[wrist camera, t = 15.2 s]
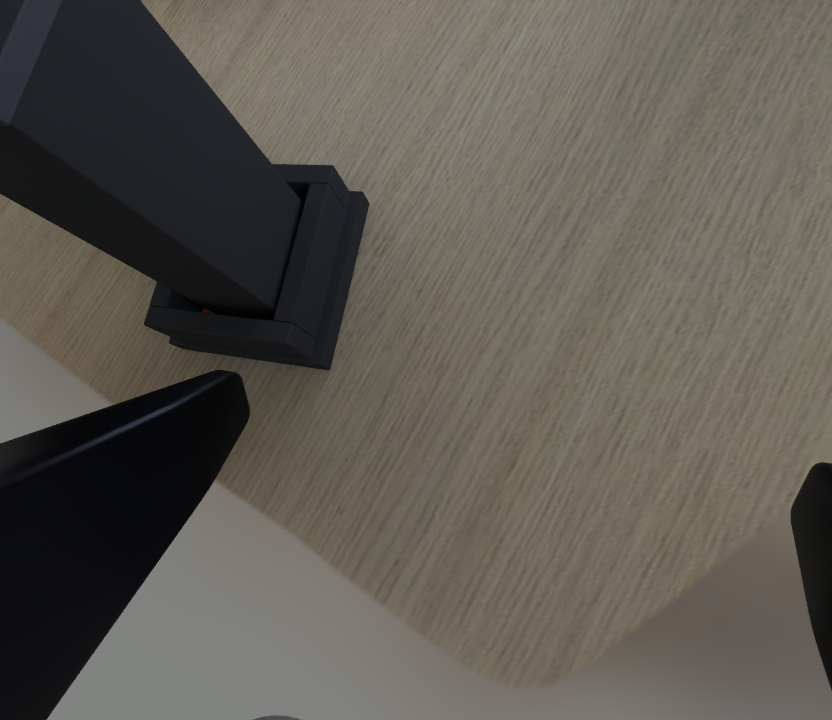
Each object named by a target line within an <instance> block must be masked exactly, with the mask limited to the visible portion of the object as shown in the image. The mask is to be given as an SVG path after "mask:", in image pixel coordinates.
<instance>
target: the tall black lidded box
mask: <svg viewBox="0 0 832 720" xmlns="http://www.w3.org/2000/svg"><path fill="white" fill-rule="evenodd" d="M0 194H2V195H4V196H5V197H7V198H9V199H11V200H13V201H14V202H16V203H18V204H20V205H22V206H23V207H25V208H27V209H29V210H30V211H32V212H34V213H36V214H38V215H39V216H41V217H43V218H45V219H47V220H48V221H50V222H52V223H54V224H56V225H57V226H59V227H61V228H63V229H64V230H66V231H68V232H70V233H72V234H73V235H75V236H77V237H79V238H81V239H82V240H84V241H86V242H88V243H90V244H91V245H93V246H95V247H97V248H98V249H100V250H102V251H104V252H106V253H107V254H109V255H111V256H113V257H115V258H116V259H118V260H120V261H122V262H124V263H125V264H127V265H129V266H131V267H132V268H134V269H136V270H138V271H140V272H141V273H143V274H145V275H147V276H149V277H150V278H152V279H154V280H156V281H158V282H159V283H161V284H163V285H165V286H166V287H168V288H170V289H172V290H174V291H175V292H177V293H179V294H181V295H183V296H184V297H186V298H188V299H190V300H192V301H193V302H195V303H197V304H199V305H200V306H202V307H204V308H206V309H208V310H209V311H211V312H213V313H215V314H220V315H229V316H237V317H245V318H254V319H263V320H272V321H274V315H275V312H276V308H277V304H278V301H279V297H280V293H281V289H282V286H283V282H284V278H285V274H286V271H287V267H288V263H289V260H290V256H291V252H292V248H293V245H294V241H295V237H296V233H297V230H298V226H299V222H300V219H301V215H302V211H303V207H304V204H303V202H302V201H301V200H300V199H299V197H298V196H297V195H296V194H295V192H294V191H293V190H292V189H291V187H290V186H289V185H288V184H287V182H286V181H285V180H284V179H283V177H282V176H281V175H280V174H279V172H278V171H277V170H276V169H275V167H274V166H273V165H272V164H271V162H270V161H269V160H268V159H267V157H266V156H265V155H264V154H263V152H262V151H261V150H260V149H259V148H258V146H257V145H256V144H255V143H254V141H253V140H252V139H251V138H250V136H249V135H248V134H247V133H246V131H245V130H244V129H243V128H242V126H241V125H240V124H239V123H238V121H237V120H236V119H235V118H234V116H233V115H232V114H231V113H230V111H229V110H228V109H227V108H226V106H225V105H224V104H223V103H222V101H221V100H220V99H219V98H218V96H217V95H216V94H215V93H214V92H213V90H212V89H211V88H210V87H209V85H208V84H207V83H206V82H205V80H204V79H203V78H202V77H201V75H200V74H199V73H198V72H197V70H196V69H195V68H194V67H193V65H192V64H191V63H190V62H189V60H188V59H187V58H186V57H185V55H184V54H183V53H182V52H181V50H180V49H179V48H178V47H177V45H176V44H175V43H174V42H173V40H172V39H171V38H170V37H169V35H168V34H167V33H166V32H165V31H164V29H163V28H162V27H161V26H160V24H159V23H158V22H157V21H156V19H155V18H154V17H153V16H152V14H151V13H150V12H149V11H148V9H147V8H146V7H145V6H144V4H143V3H142V2H141V1H140V0H0Z"/></svg>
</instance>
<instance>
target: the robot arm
mask: <svg viewBox="0 0 832 720" xmlns="http://www.w3.org/2000/svg"><path fill="white" fill-rule="evenodd" d="M249 416H250V407H249V403H248V399H247V395H246V391H245V388H244V384H243V380H242V378H241V376H240V375H239V374H237V373H236V372H230V371H224V370H215V371H212V372H209V373H206V374H203V375H200V376H197V377H194V378H191V379H189V380H186V381H183V382H180V383H177V384H174V385H171V386H168V387H165V388H162V389H159V390H156V391H153V392H150V393H147V394H144V395H142V396H139V397H136V398H133V399H130V400H127V401H124V402H121V403H118V404H115V405H112V406H109V407H107V408H103V409H101V410H98V411H95V412H92V413H89V414H86V415H83V416H80V417H77V418H74V419H71V420H68V421H65V422H62V423H59V424H56V425H53V426H51V427H48V428H45V429H42V430H39V431H36V432H33V433H30V434H27V435H24V436H21V437H18V438H15V439H13V440H9V441H7V442H4V443H1V444H0V720H46V719H47V718H48V717H49V715H50V714H51V712H52V711H53V710H54V708H55V707H56V705H57V704H58V702H59V701H60V700H61V698H62V697H63V695H64V694H65V693H66V691H67V690H68V688H69V687H70V685H71V684H72V683H73V681H74V680H75V678H76V677H77V675H78V674H79V673H80V671H81V670H82V669H83V667H84V666H85V664H86V663H87V661H88V660H89V659H90V657H91V656H92V654H93V653H94V652H95V650H96V649H97V647H98V646H99V644H100V643H101V642H102V640H103V639H104V637H105V636H106V635H107V633H108V632H109V630H110V629H111V627H112V626H113V625H114V623H115V622H116V620H117V619H118V618H119V616H120V615H121V613H122V612H123V611H124V609H125V608H126V606H127V605H128V603H129V602H130V601H131V599H132V598H133V596H134V595H135V594H136V592H137V591H138V589H139V588H140V586H141V585H142V584H143V582H144V581H145V579H146V578H147V577H148V575H149V574H150V572H151V571H152V569H153V568H154V567H155V565H156V564H157V562H158V561H159V560H160V558H161V557H162V555H163V554H164V552H165V551H166V550H167V548H168V547H169V545H170V544H171V543H172V541H173V540H174V538H175V537H176V536H177V534H178V533H179V531H180V530H181V529H182V527H183V526H184V524H185V523H186V521H187V520H188V518H189V517H190V516H191V514H192V513H193V512H194V510H195V509H196V507H197V506H198V504H199V503H200V502H201V500H202V499H203V497H204V495H205V494H206V493H207V491H208V490H209V488H210V487H211V485H212V483H213V482H214V480H215V478H216V477H217V475H218V473H219V471H220V470H221V468H222V466H223V464H224V463H225V461H226V459H227V457H228V456H229V454H230V452H231V450H232V449H233V447H234V445H235V443H236V442H237V440H238V438H239V436H240V435H241V433H242V431H243V429H244V428H245V426H246V424H247V422H248V420H249ZM791 525H792V530H793V535H794V540H795V545H796V551H797V555H798V560H799V566H800V571H801V576H802V581H803V586H804V592H805V597H806V602H807V607H808V612H809V616H810V621H811V625H812V629H813V633H814V636H815V640H816V643H817V647H818V650H819V653H820V656H821V659H822V662H823V665H824V668H825V671H826V675H827V678H828V681H829V684H830V687H831V690H832V464H831V463H825V462H821V463H817V464H815V465H814V466H813V467H812V468H811V470H810V471H809V473H808V475H807V477H806V479H805V481H804V483H803V485H802V487H801V489H800V491H799V493H798V495H797V497H796V499H795V501H794V503H793V505H792V509H791Z"/></svg>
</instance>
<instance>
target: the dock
mask: <svg viewBox="0 0 832 720" xmlns="http://www.w3.org/2000/svg"><path fill="white" fill-rule="evenodd" d="M272 165H273V166H274V167H275V169H276V170H277V171H278V172H279V174H280V175H281V176H282V177H283V179H284V180H285V181H286V182H287V184H288V185H289V186H290V187H291V189H292V190H293V191H294V192H295V194H296V195H297V196H298V197H299V199H300V200H301V201H302V202H303V204H304V207H303V211H302V215H301V219H300V222H299V226H298V230H297V233H296V237H295V241H294V245H293V248H292V252H291V256H290V260H289V263H288V267H287V271H286V274H285V278H284V282H283V286H282V289H281V293H280V297H279V301H278V304H277V308H276V312H275V315H274V321H272V320H263V319H254V318H245V317H237V316H229V315H220V314H215V313H213V312H211V311H209V310H208V309H206V308H204V307H202V306H200V305H199V304H197V303H195V302H193V301H192V300H190V299H188V298H186V297H184V296H183V295H181V294H179V293H177V292H175V291H174V290H172V289H170V288H168V287H166V286H165V285H163V284H161V283H159V282H158V281H157V284H156V287H155V290H154V293H153V296H152V299H151V302H150V306H151V307H149V310H148V313H147V316H146V319H145V322H144V325H145V326H147V327H149V328H152V329H154V330H156V331H159V332H161V333H163V334H166V335H168V336H170V340H169V343H170V344H172V345H175V346H177V347H179V348H182V349H187V350H194V351H201V352H208V353H215V354H221V355H228V356H235V357H242V358H249V359H256V360H263V361H269V362H276V363H283V364H290V365H297V366H304V367H311V368H317V369H324V370H330V368H331V364H332V360H333V355H334V351H335V347H336V343H337V338H338V334H339V330H340V326H341V321H342V317H343V313H344V309H345V304H346V300H347V296H348V292H349V288H350V283H351V279H352V275H353V271H354V266H355V262H356V258H357V254H358V249H359V245H360V241H361V237H362V232H363V228H364V224H365V220H366V215H367V211H368V207H369V202H368V200H367V198H366V197H365V195H364V193H363V192H357V191H349V190H348V189H347V187H346V185H345V184H344V182H343V180H342V179H341V177H340V176H339V174H338V172H337V171H336V169H335V168H334V166H333V165H290V164H272Z"/></svg>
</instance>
